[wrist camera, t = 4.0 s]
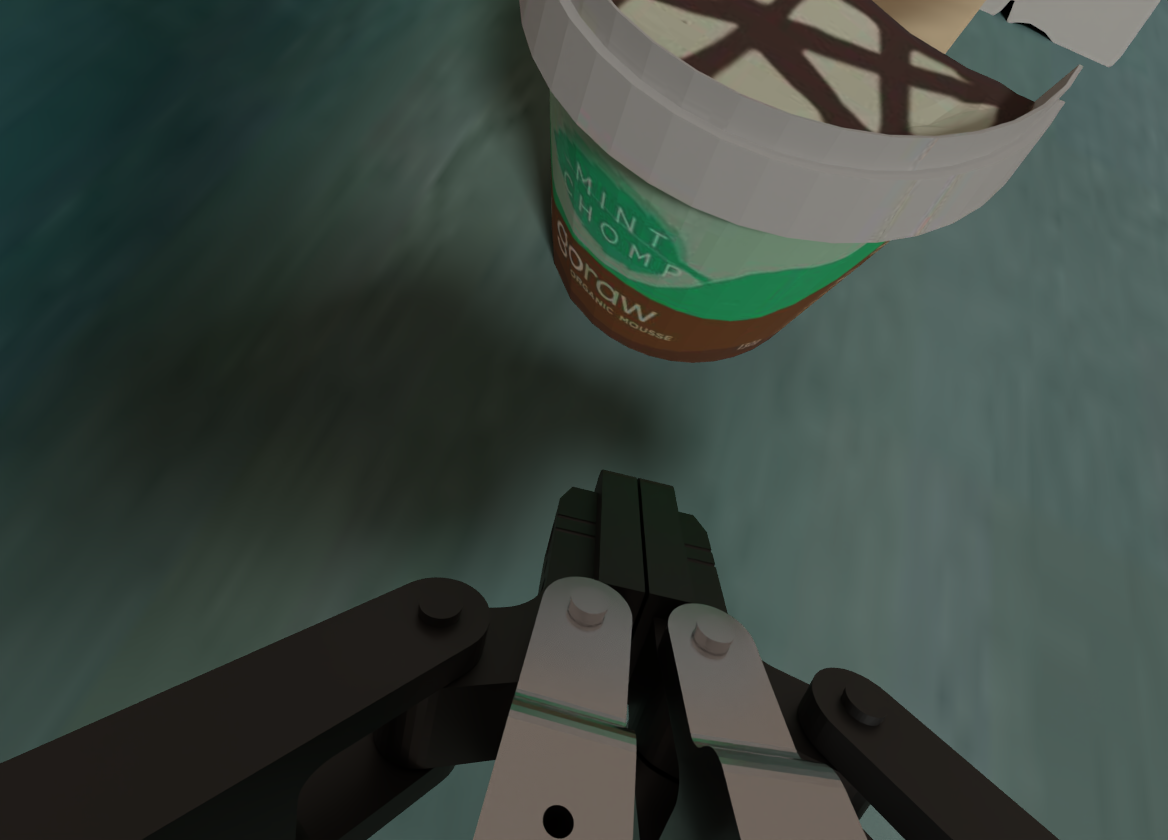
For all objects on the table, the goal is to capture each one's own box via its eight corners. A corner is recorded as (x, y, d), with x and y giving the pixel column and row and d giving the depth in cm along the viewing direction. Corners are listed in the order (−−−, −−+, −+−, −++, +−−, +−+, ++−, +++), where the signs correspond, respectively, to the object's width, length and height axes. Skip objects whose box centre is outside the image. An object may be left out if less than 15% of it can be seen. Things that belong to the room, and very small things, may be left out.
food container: (437, 259, 19) (376, -94, 10) (545, 152, 21) (577, -220, 12) (750, 471, 18) (1016, 297, 9) (830, 334, 20) (1108, 79, 11)
